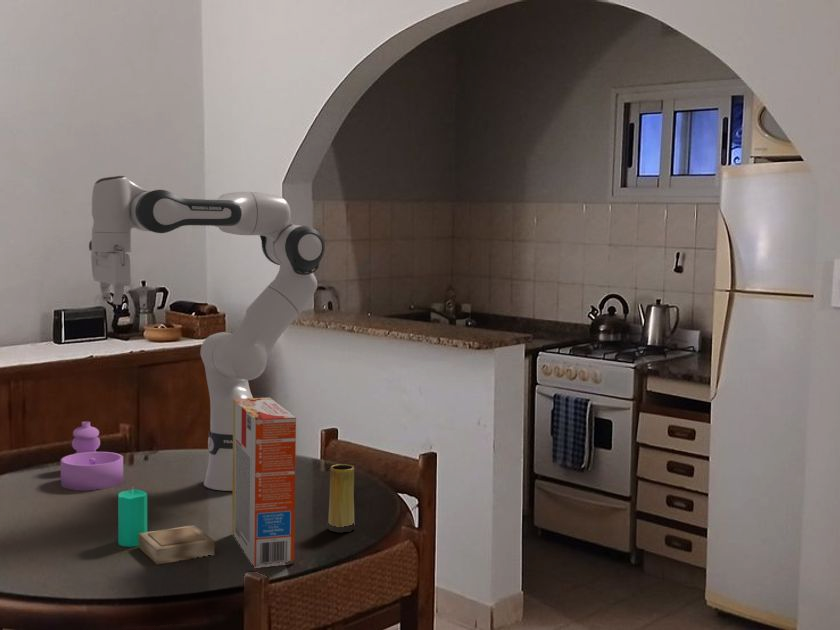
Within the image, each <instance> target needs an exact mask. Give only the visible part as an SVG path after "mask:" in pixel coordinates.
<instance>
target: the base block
mask: <svg viewBox="0 0 840 630" xmlns="http://www.w3.org/2000/svg"><path fill="white" fill-rule="evenodd" d="M138 548H139V549H140V550H141V551H142V552H143V553H144V554H145V555H146V556H148V558H149V559H151V560H152V561H153V562H154V563H155V564H156V565H162V564H169V563H174V562H175V563H176V562H180V560H181V561H186V560H187V561H188V560H192V559H191V558H193V559H198V558H197V557H199V558H203V556H205V557H209V556H208V555H211V556H215V540H214V539H213V538H211V537H210V536H209V535H208V534H206V533H205V532H204V531H203V530H201V529H200V528H198V527H197V526H196V525H195V524H193V525H185V526H179V527H174V528H166V529H158V530H153V531H151V530H150V531H147V532H144V533H139V546H138Z"/></svg>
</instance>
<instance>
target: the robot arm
mask: <svg viewBox="0 0 840 630" xmlns="http://www.w3.org/2000/svg"><path fill="white" fill-rule="evenodd" d="M91 216H92V220H93V225H92V228H91V239H90V241H89V243H88V250H89V252H91V255H90V256H91V257H90V259H91V273H92V277H93V281H95V282H99V289H100V293H101V301H102V302H110V301H111V295H112V294H111V291H110V289H111V288H110V287H111V286H112V287H113V296H112V304H114V305H116V306H117V305H118V306H119V305H120V306H121V305H122V303H123V296H124V292H125V287H128V286H130V285H131V284H132V283H131V282H132V269H131V267H132V266H131V257H130V255H129V254H128V253H131V252H132V251H131V250H132V248H131V247H132V245H131V243H132V241H131V240H132V239H131V237H132V236H131V235H132V233H131V232H132V229H133V228H134V229H137V230H140V231H142V232H143V231H145V232H152V233H155V234H156V233H157V234H165V233H166V234H167V233H170V232H171V231H175V230H177V229H179V228H181V227H183V226H201V227H202V226H205V227H206V226H207V227H209V226H210V227H216V228H218V229H219V230H220V231H221V232H223V233H226V234H232V235H237V236H259V237H260V241H261V250H262V252H263V253H262V254H263V255H264V256H265V258H266V259H267V260H268V261H269V262H271V263H273V264H275V265H278V266H279V269H278V271H277V274H276V275H275V276H276V277H275V279H273V280H272V281H271V282H270V283H269V284H268V285H267V286H266V287H265V288H264V290H263V291H261V293H260V294H259V295H258V296H257V298H255V299H254V300H253V302H251V303H250V305H249V306H248V307H247V308H246V311H245V315H244V318H243V320H242V322H241V324H240V325H239V326H238V327H237V329H236V331H235V332H233V333H231V332H227V331H223V332H217V333H213V334H211V335H209V336H207V337H206V338H205V339H204V340H203V342H202V344H201V345H200V346H201V347H200V350H199V352H200V357H201V360H202V363H203V365H204V369H205V370H204V372H205V377H206V382H207V384H206V385H207V387H208V393H209V400H210V401H209V403H210V405H209V407H210V418H209V420H210V425H209V426H210V430H209V431H208V438H207V439H208V440H207V448H208V453H209V454H208V455H209V456H208V464H207V470H206V474H205V479H204V482H203V486H204V487H205V488H208V489H211V490H216V491H225V492H226V491H229V492H233V399H247V398H254V397H253V395H252V392H251V389H250V383H249V381H252V380H255V379H257V378H259V377H260V376H261V375H263V373H264V371H265V369H266V367H267V363H268V357H269V356H270V354H271V351H272V350H273V348H274V347H275V344H276V343H277V341H278V339H279V338H281V335H283V334H284V332H285V331H286V330H287V329H288V327H289V326H290V325H291V324H292V323H293V322H294V321H295V320H296V318H297V317H298V316H299V315H300V314H301V313H302V312H303V310H304V309H305V308H306V306H307V305H308V304H309V302H310V301H311V299H312V297H314V294H315V293H316V291H317V289H318V280H317V277H316V275H315V274H314V273H315V272H316V271H317V270H318V269H319V266H320V262H321V261H322V258H323V256H324V254H325V250H326V249H325V248H326V244H325V239H324V238H323V236H322V234H321V233H320V232H319V230H316V229H315V228H313V227H311V226H308V225H299V224H294V223H293V221H292V217H291V216H292V213H291V207H290V205H289V203H288V201H287V200H286V199H285V198H283V197H281V196H278V195H274V194H270V193H264V192H252V191H236V192H235V191H234V192H227V193H223V194H222V195H220V196H219V197H218V198H216V199H202V198H201V199H199V198H198V199H195V198H184V197H181V196H180V195H178V194H175V193H173V192H171V191H170V190H169V191H168V190H166V189H154V190H149V189H147V188H144V187H142V186H139V185H137V183H135V182H133V181H131V180H130V179H129V178H128V177H127V176H125V175H117V176H107V177H103V178H99V179H97V180H96V182H95V183H94V185H93V189H92V195H91Z"/></svg>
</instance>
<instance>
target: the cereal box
mask: <svg viewBox="0 0 840 630" xmlns="http://www.w3.org/2000/svg"><path fill="white" fill-rule="evenodd" d="M296 431H297V417H296V416H295V415H293V414H292V413H291V412H290V411H288V410H287V409H286V408H284V406H282V405H281V404H279V403H278V402H276V401H275V399H272V398H271V397H253V398H247V399H233V491H232V501H231V502H232V503H231V504H232V505H231V507H232V512H231V513H232V515H231V516H232V517H231V519H232V520H231V521H232V523H231V527H232V530H231V533H233V535H234V536H233V535H232V536H233V538H234V537H235V538H236V539H235V538H234V539H235V541H236V540H237V541H238V543H239V544H240V546H241V547H242V549H243V550H244V552H245V553H246V555H247V556H248V558H249V559H250V561H251V562H252V564H253V565H254V567H256V566H261V565H267V564H274V563H280V562H288V561H294V562H295V534H296V533H295V530H296V529H295V527H296V526H295V525H296V524H295V523H296V521H295V520H296V519H295V517H296V514H295V513H296V449H297V447H296V441H297V438H296V437H297V432H296ZM237 541H236V542H237ZM238 543H237V544H238ZM239 544H238V545H239ZM240 546H239V547H240ZM241 547H240V548H241ZM242 549H241V550H242ZM243 550H242V551H243ZM244 552H243V553H244ZM246 555H245V556H246ZM248 558H247V559H248ZM250 561H249V562H250ZM252 564H251V565H252Z"/></svg>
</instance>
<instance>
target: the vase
mask: <svg viewBox="0 0 840 630" xmlns="http://www.w3.org/2000/svg"><path fill="white" fill-rule="evenodd" d="M329 475H330V476H329V499H328V500H329V501H328V503H329V504H328V516H327V517H328V518H327V519H328V521H327V524H328V523H329V524H330V525H332V526H336V527H344V526H349V525H352V524H353V523H354V524H355V503H354V502H355V501H354V500H355V499H354V498H355V497H354V495H355V494H354V493H355V492H354V491H355V467H354V465H352V464H347V463H346V464H345V463H344V464H342V463H341V464H338V463H337V464H333V465H331V466H330V474H329Z"/></svg>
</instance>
